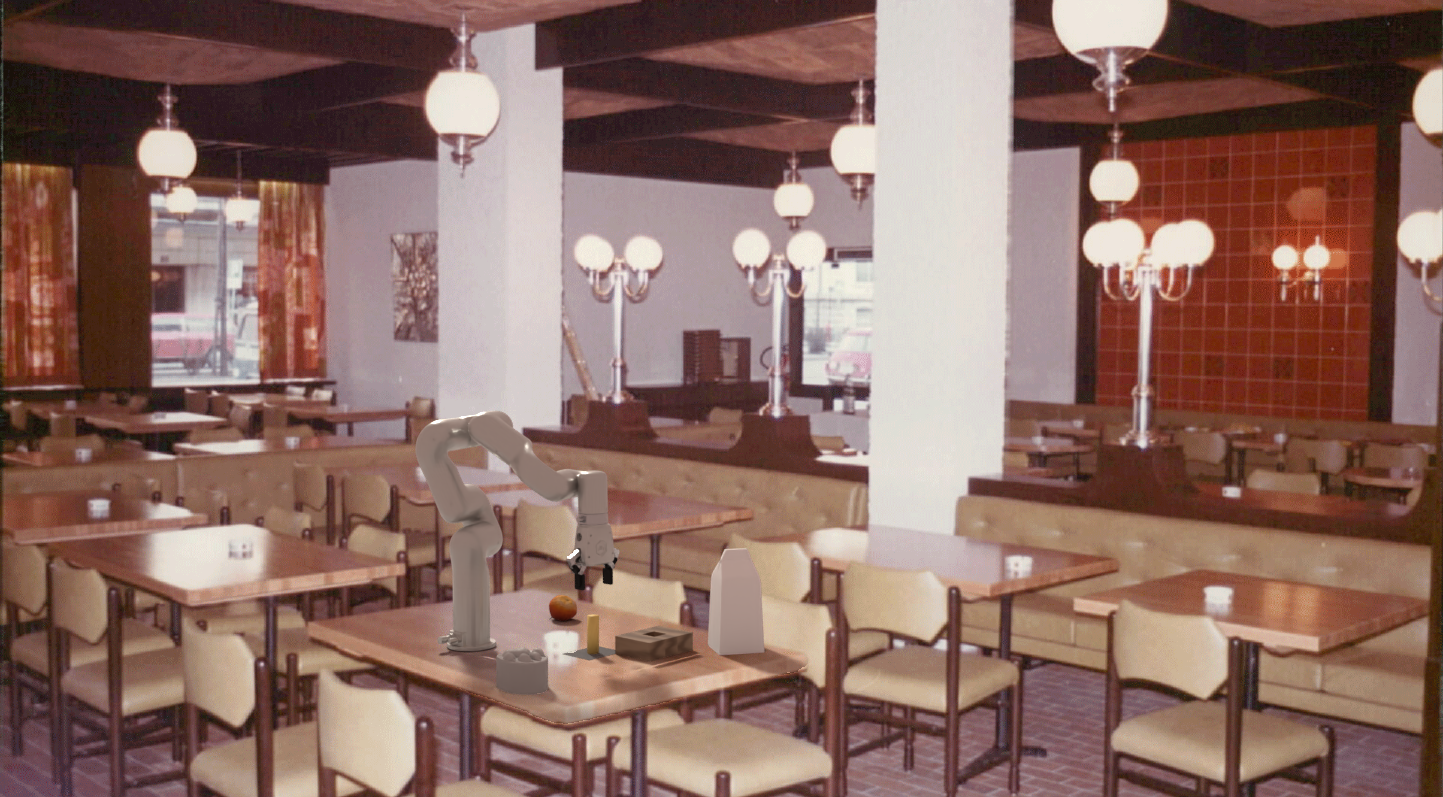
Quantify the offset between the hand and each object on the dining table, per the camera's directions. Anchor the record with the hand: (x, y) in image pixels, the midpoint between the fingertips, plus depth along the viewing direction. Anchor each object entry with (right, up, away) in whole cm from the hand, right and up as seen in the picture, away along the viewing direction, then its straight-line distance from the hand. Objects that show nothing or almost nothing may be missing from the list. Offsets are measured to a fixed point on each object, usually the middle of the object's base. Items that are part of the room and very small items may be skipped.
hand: (594, 586), depth 332 cm
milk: (+36, -17, +8) cm, 41 cm away
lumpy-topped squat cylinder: (-13, -19, -32) cm, 39 cm away
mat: (0, -17, +1) cm, 17 cm away
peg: (0, -17, +1) cm, 17 cm away
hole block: (+15, -17, +2) cm, 23 cm away
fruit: (-13, -16, +42) cm, 47 cm away
